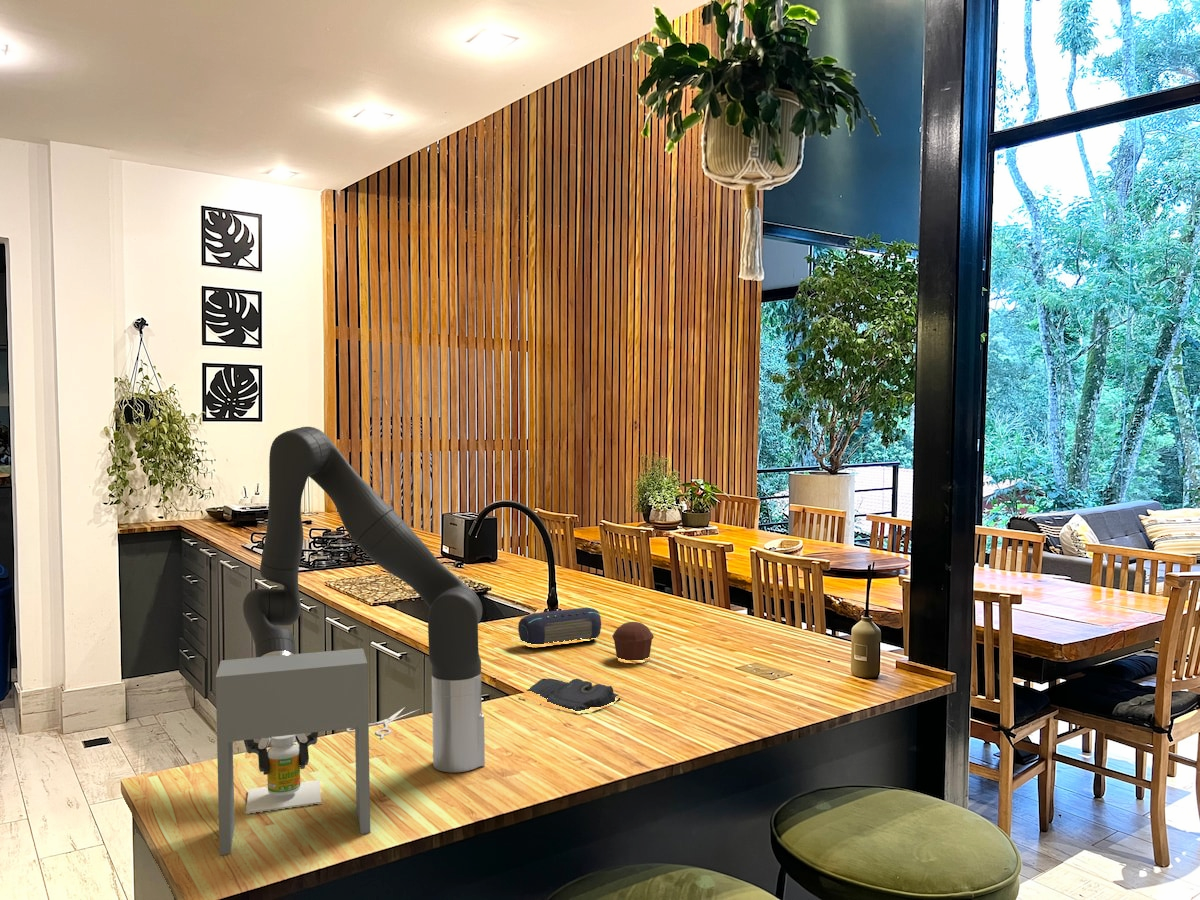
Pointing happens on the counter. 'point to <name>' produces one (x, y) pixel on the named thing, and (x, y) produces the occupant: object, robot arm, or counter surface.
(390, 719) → the scissors
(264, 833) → the counter surface
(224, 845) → the grey rectangular arch
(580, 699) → the crumpled dark grey cloth
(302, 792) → the white flat rectangular board
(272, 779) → the supplement bottle
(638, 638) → the muffin
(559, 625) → the portable speaker
